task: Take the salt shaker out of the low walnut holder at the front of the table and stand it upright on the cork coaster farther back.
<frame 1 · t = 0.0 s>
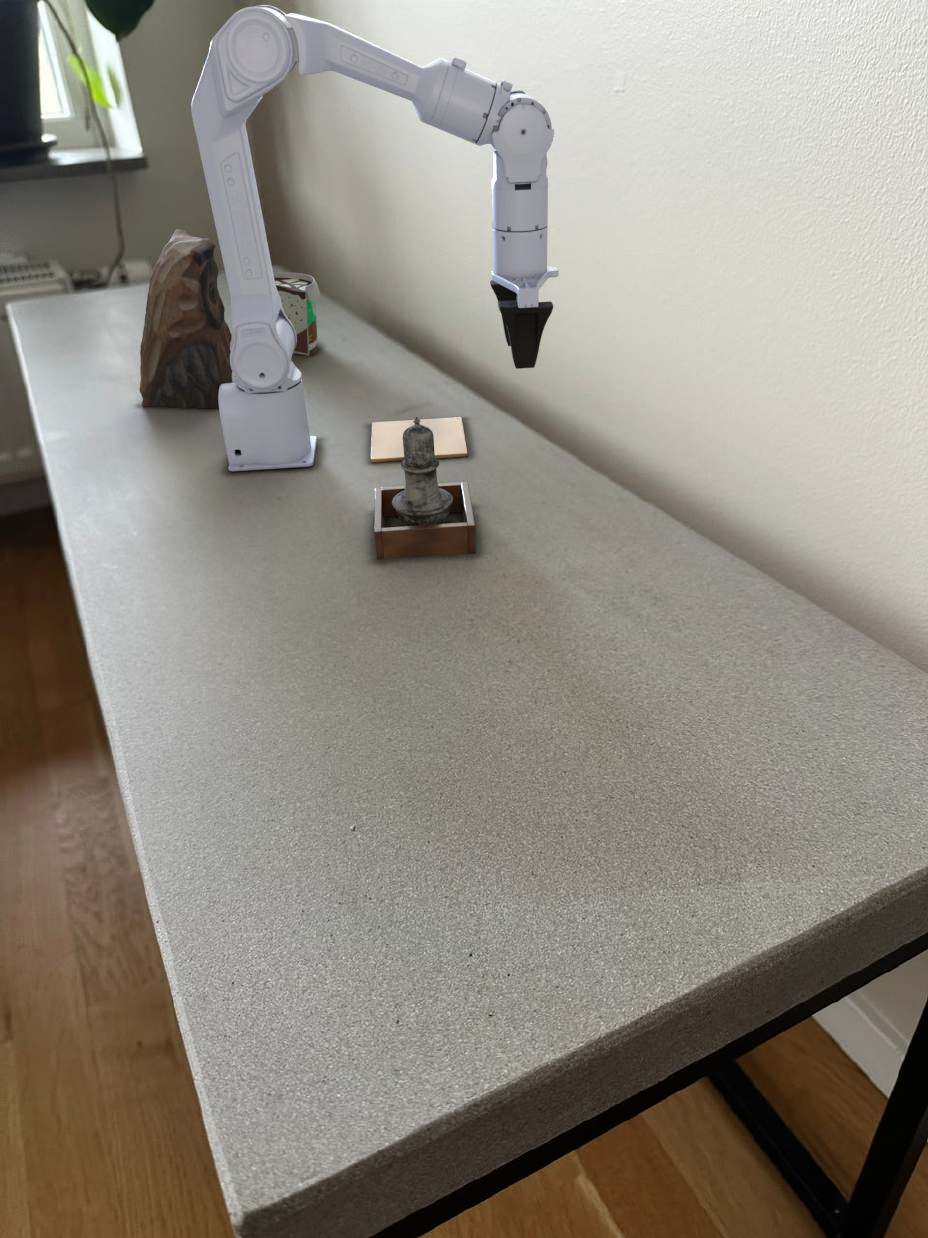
hand: (520, 355, 107), 10 cm above the table, tool pointing down, fingers open, 7 cm apart
holder: (424, 532, 94), on the table
salt shaker: (424, 534, 95), resting in holder
coaster: (418, 440, 114), on the table
food container: (298, 346, 146), on the table
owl: (191, 396, 129), on the table
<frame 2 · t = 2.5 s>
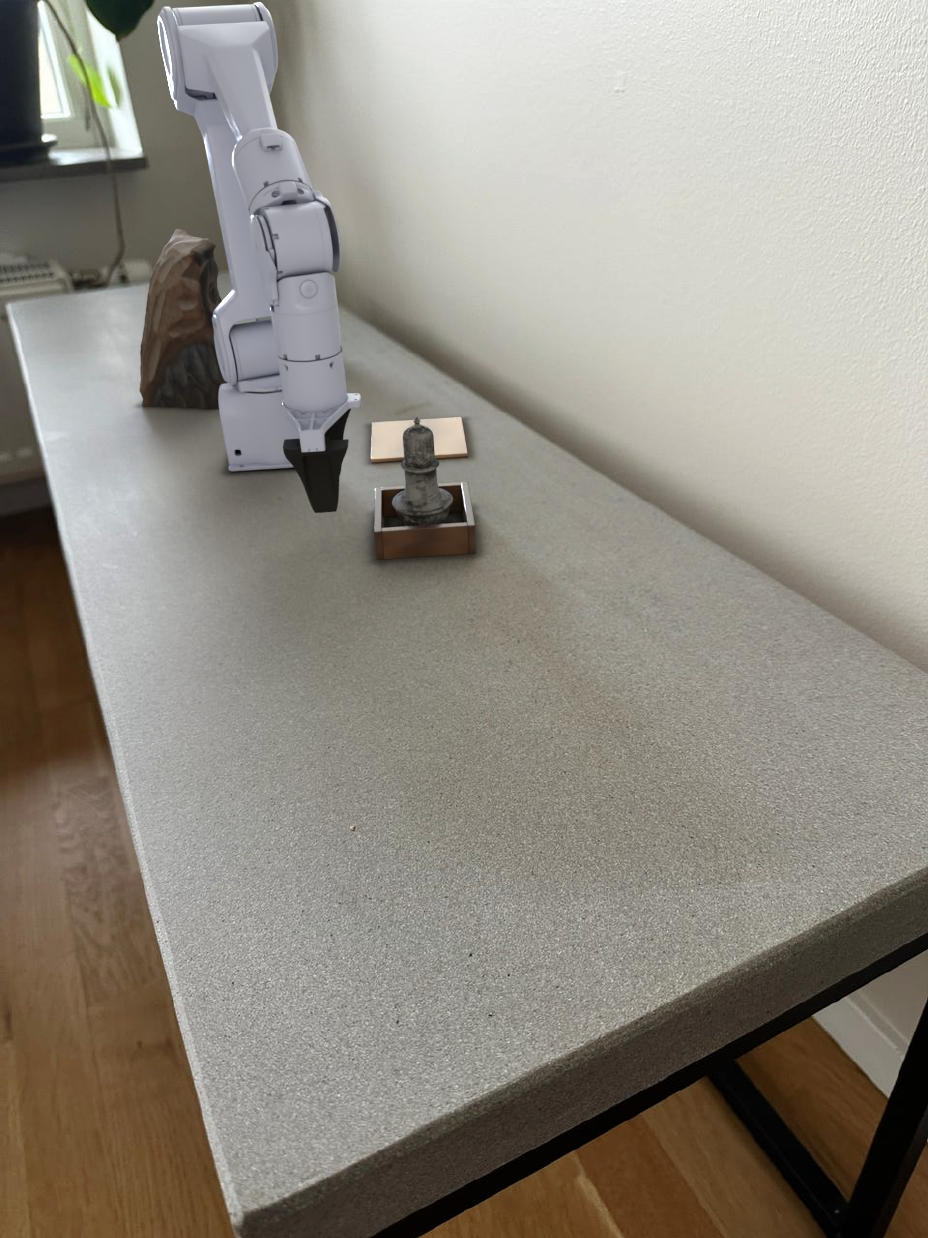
hand: (327, 492, 91), 5 cm above the table, tool pointing down, fingers open, 7 cm apart
nothing on the table moved.
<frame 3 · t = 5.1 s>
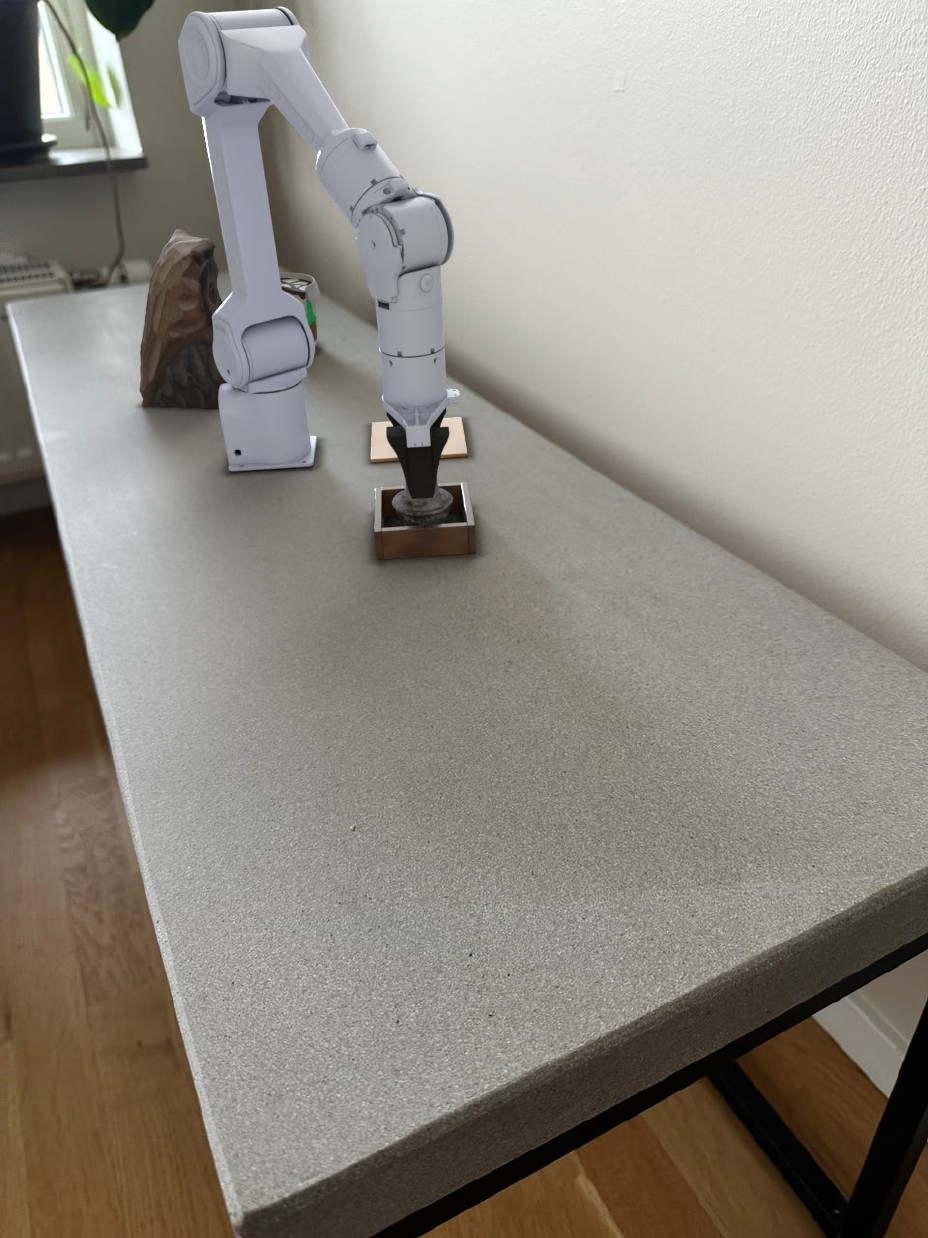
hand: (421, 487, 92), 5 cm above the table, tool pointing down, fingers closed on salt shaker, 3 cm apart
salt shaker: (424, 534, 95), resting in holder, touching gripper
everything else where it was.
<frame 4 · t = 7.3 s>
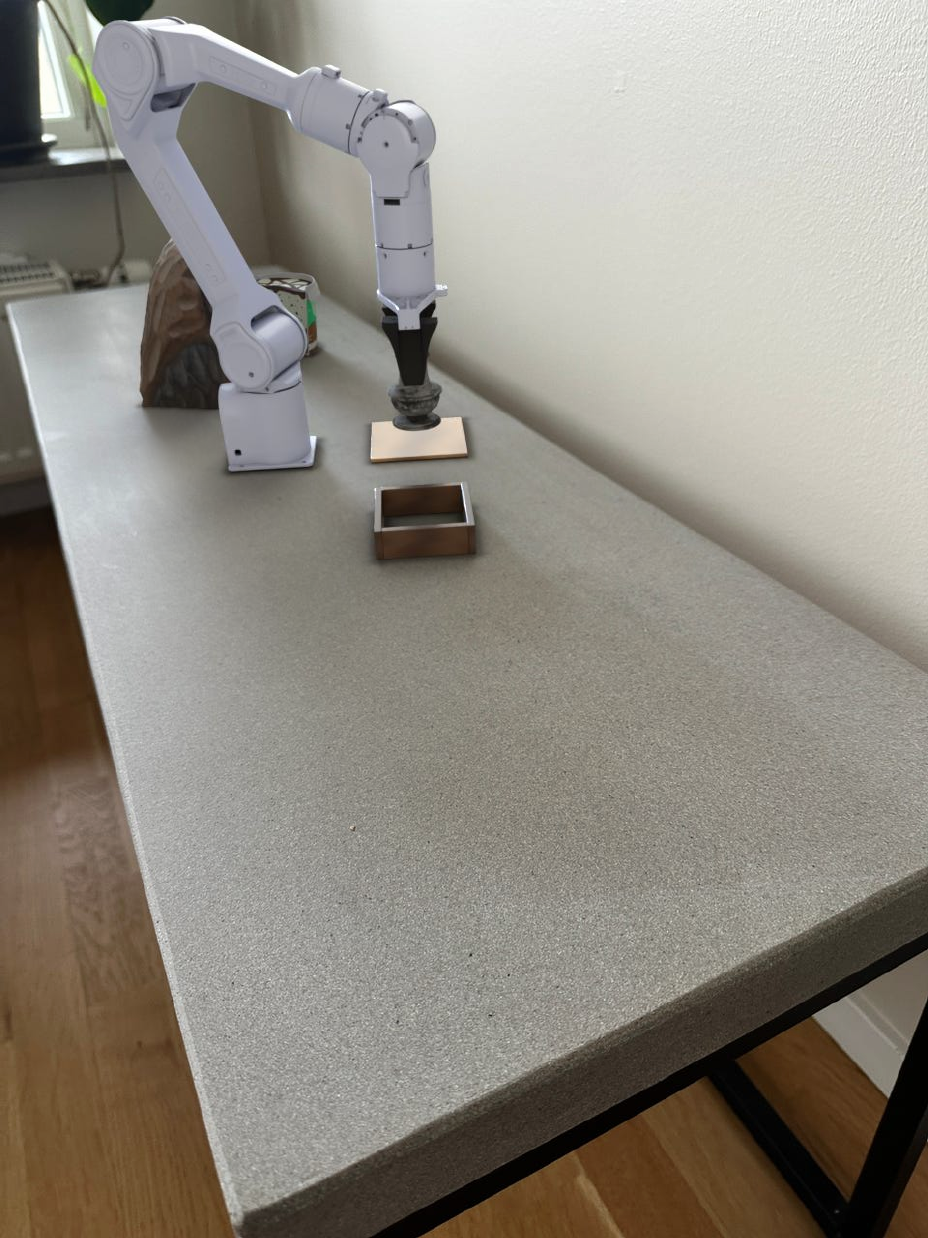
hand: (413, 377, 101), 10 cm above the table, tool pointing down, fingers closed on salt shaker, 3 cm apart
salt shaker: (416, 423, 104), point 5 cm above the table, touching gripper
everything else where it was.
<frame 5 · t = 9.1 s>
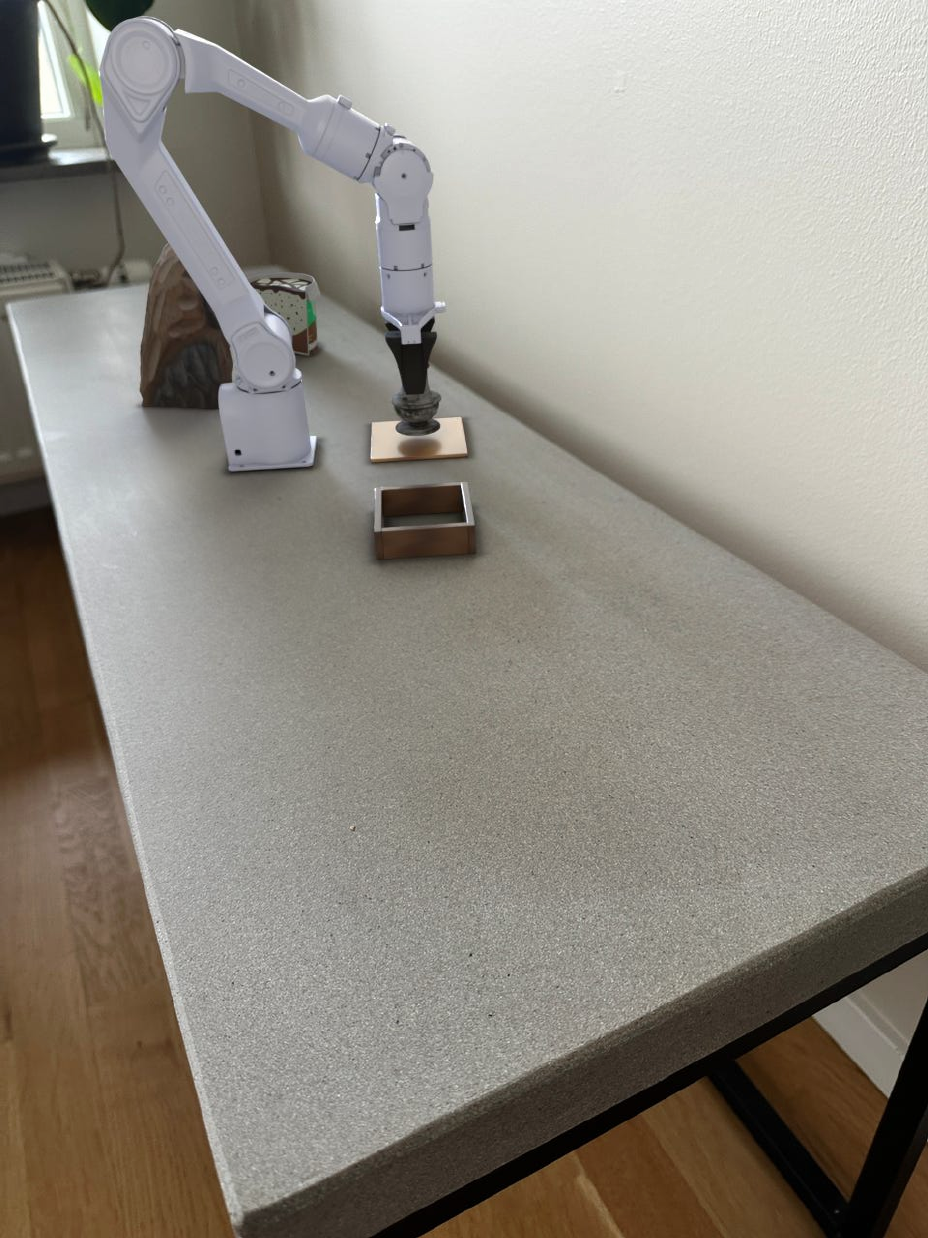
hand: (414, 387, 110), 6 cm above the table, tool pointing down, fingers closed on salt shaker, 3 cm apart
salt shaker: (418, 428, 113), point 1 cm above the table, touching gripper
everything else where it was.
when the fingers open (5 cm above the table, at t = 9.8 s): salt shaker stays where it is, resting on coaster.
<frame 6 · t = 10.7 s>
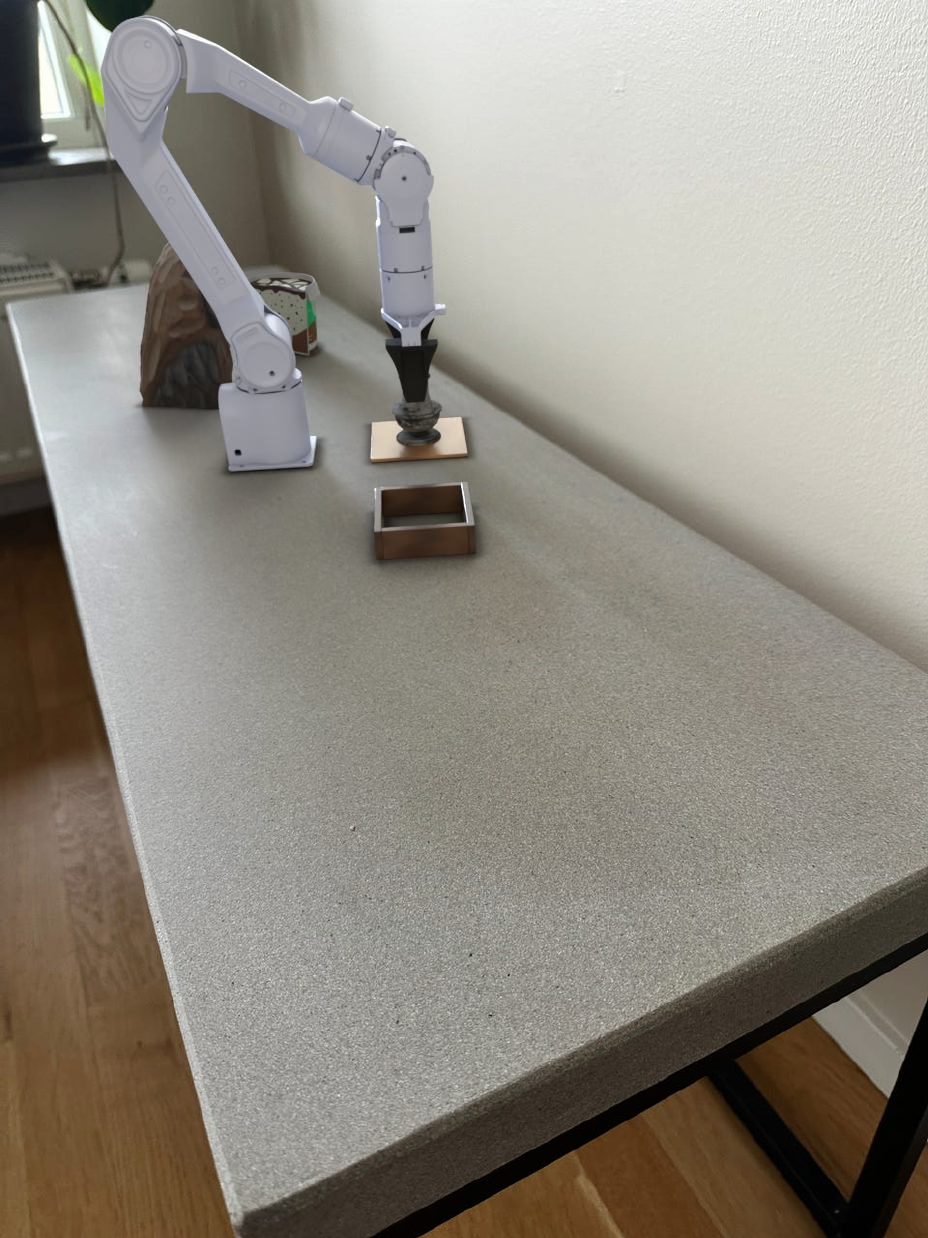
hand: (414, 389, 110), 6 cm above the table, tool pointing down, fingers open, 7 cm apart
salt shaker: (418, 438, 113), resting on coaster
everything else where it was.
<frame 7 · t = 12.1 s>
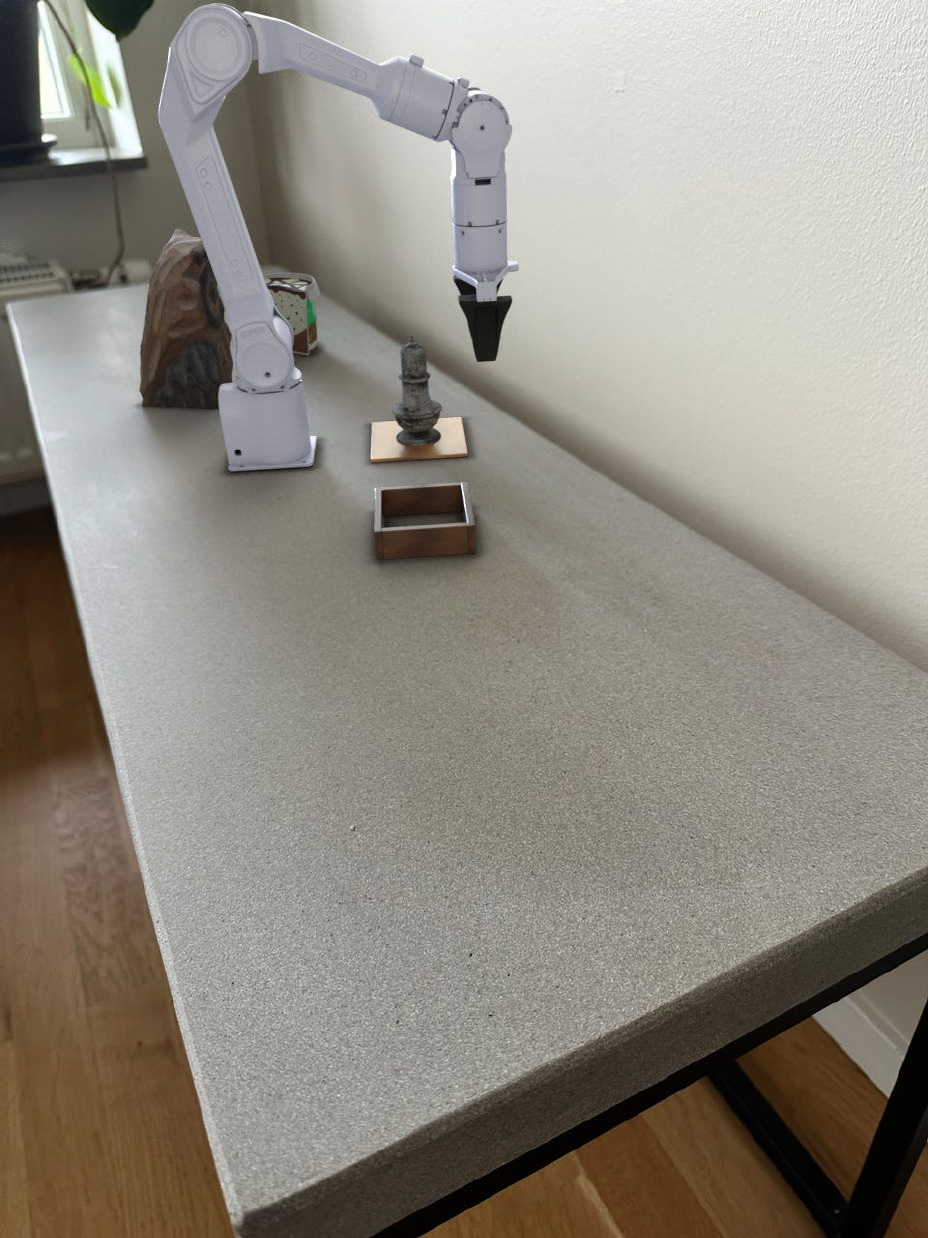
hand: (483, 349, 108), 10 cm above the table, tool pointing down, fingers open, 7 cm apart
nothing on the table moved.
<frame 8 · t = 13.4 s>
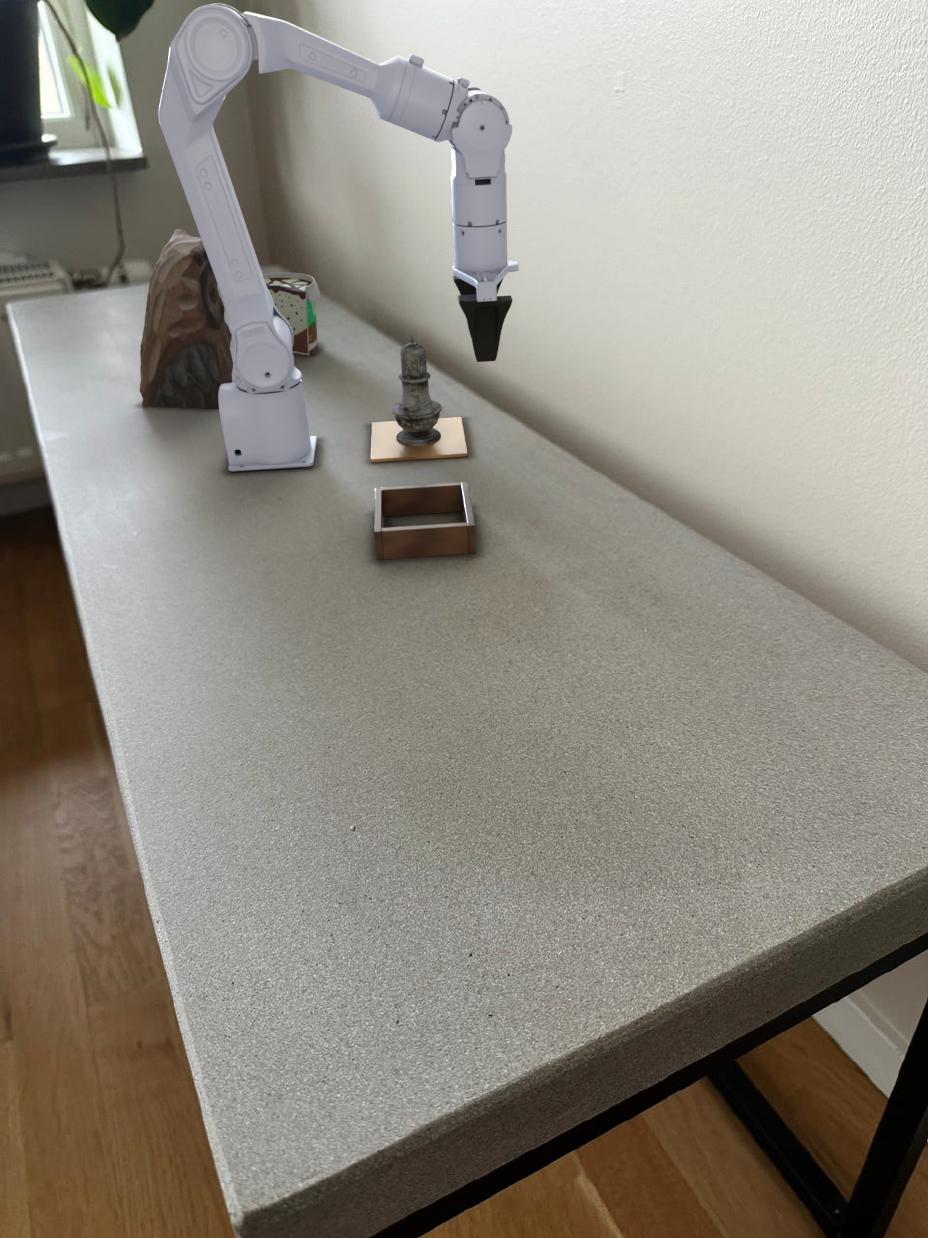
hand: (483, 349, 108), 10 cm above the table, tool pointing down, fingers open, 7 cm apart
nothing on the table moved.
at the end: salt shaker 0.1 cm off-centre on the coaster, point 0.2 cm above the coaster's base; salt shaker tilted 0°; salt shaker touching coaster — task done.
